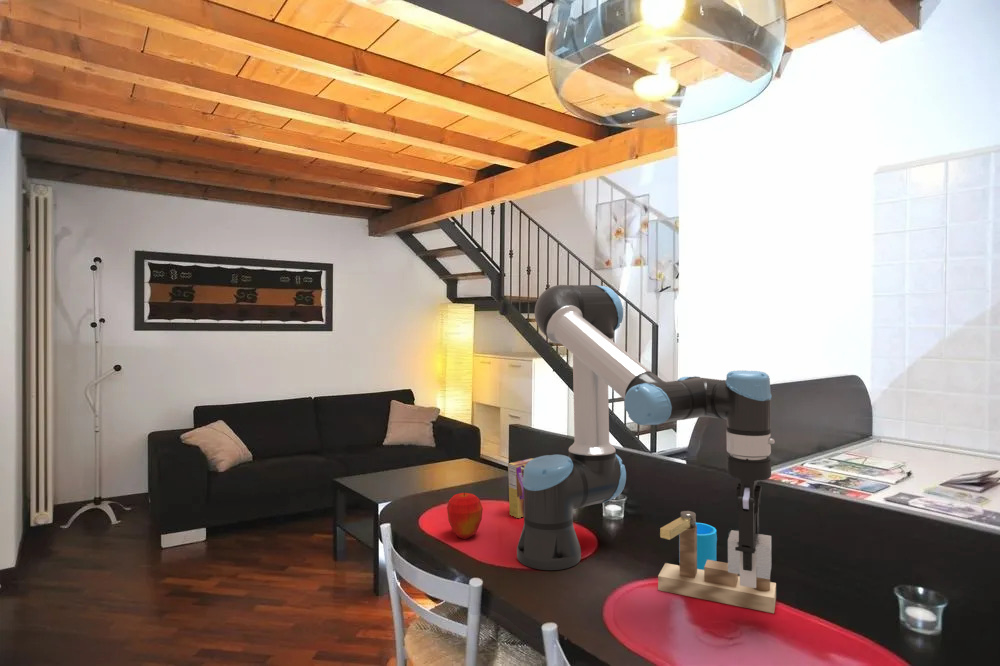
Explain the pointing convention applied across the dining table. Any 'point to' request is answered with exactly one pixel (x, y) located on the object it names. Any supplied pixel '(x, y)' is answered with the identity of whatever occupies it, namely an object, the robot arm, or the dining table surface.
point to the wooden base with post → (713, 580)
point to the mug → (705, 544)
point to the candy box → (516, 487)
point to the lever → (678, 525)
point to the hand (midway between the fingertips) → (749, 578)
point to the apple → (464, 514)
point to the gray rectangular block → (761, 554)
